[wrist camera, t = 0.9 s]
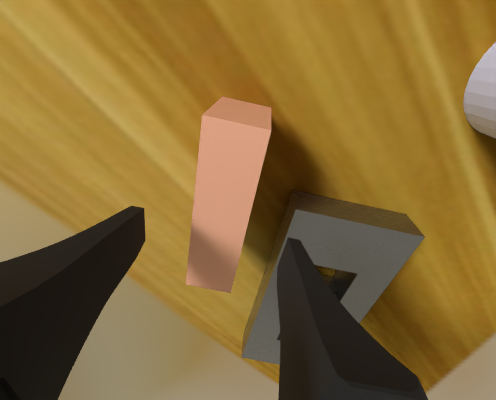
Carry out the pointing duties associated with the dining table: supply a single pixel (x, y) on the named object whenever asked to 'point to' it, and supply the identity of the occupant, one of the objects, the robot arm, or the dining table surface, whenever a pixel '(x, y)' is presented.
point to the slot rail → (332, 260)
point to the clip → (225, 189)
